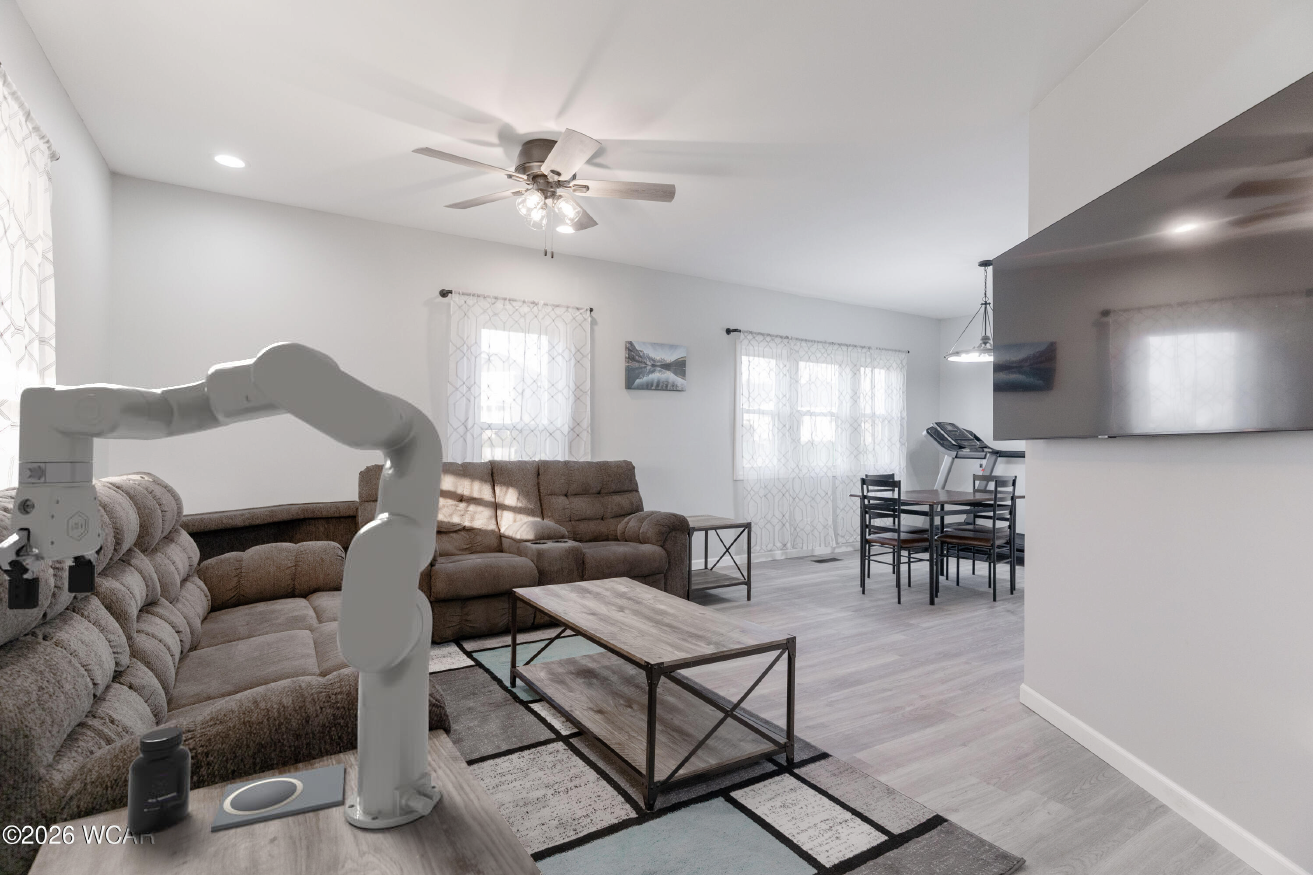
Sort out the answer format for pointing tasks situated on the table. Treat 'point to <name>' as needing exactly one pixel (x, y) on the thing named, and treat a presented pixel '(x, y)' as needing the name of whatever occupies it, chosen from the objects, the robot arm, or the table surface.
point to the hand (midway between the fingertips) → (53, 600)
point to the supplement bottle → (159, 782)
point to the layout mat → (280, 796)
